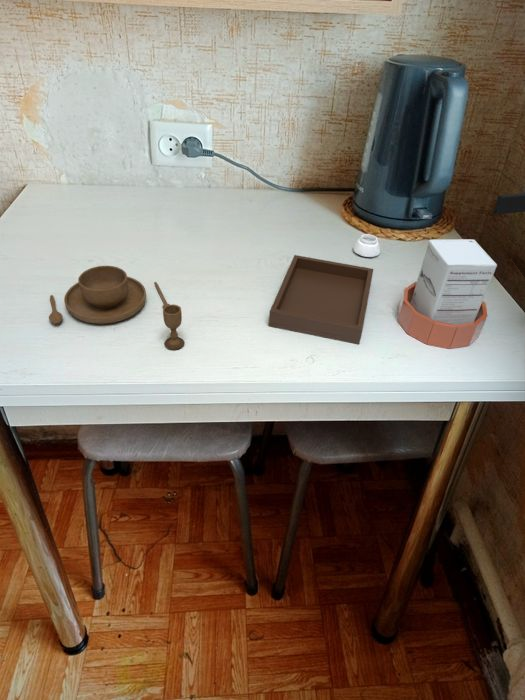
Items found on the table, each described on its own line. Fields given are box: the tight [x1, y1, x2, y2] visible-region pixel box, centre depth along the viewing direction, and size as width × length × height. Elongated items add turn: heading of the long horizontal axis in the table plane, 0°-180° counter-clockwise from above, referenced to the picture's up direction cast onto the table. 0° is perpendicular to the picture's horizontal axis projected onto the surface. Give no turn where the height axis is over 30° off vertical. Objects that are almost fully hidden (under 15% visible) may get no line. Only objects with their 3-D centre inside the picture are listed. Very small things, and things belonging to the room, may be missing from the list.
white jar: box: [352, 233, 381, 258], centre depth 94 cm, size 5×3×5 cm
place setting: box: [48, 265, 185, 351], centre depth 73 cm, size 18×20×6 cm
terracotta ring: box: [397, 281, 488, 350], centre depth 78 cm, size 12×12×4 cm
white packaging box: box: [410, 238, 498, 325], centre depth 75 cm, size 7×7×13 cm
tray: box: [268, 254, 374, 345], centre depth 81 cm, size 18×14×3 cm
